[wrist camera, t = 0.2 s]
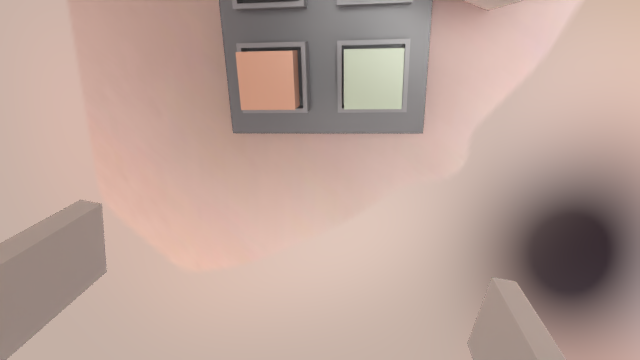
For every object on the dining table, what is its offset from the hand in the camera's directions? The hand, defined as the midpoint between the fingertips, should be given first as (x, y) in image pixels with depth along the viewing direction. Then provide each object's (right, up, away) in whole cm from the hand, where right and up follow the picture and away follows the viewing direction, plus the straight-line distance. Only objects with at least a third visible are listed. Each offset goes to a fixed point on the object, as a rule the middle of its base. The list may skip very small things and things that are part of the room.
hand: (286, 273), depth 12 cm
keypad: (+2, +18, +22) cm, 28 cm away
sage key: (+6, +12, +20) cm, 24 cm away
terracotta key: (-3, +12, +21) cm, 25 cm away
